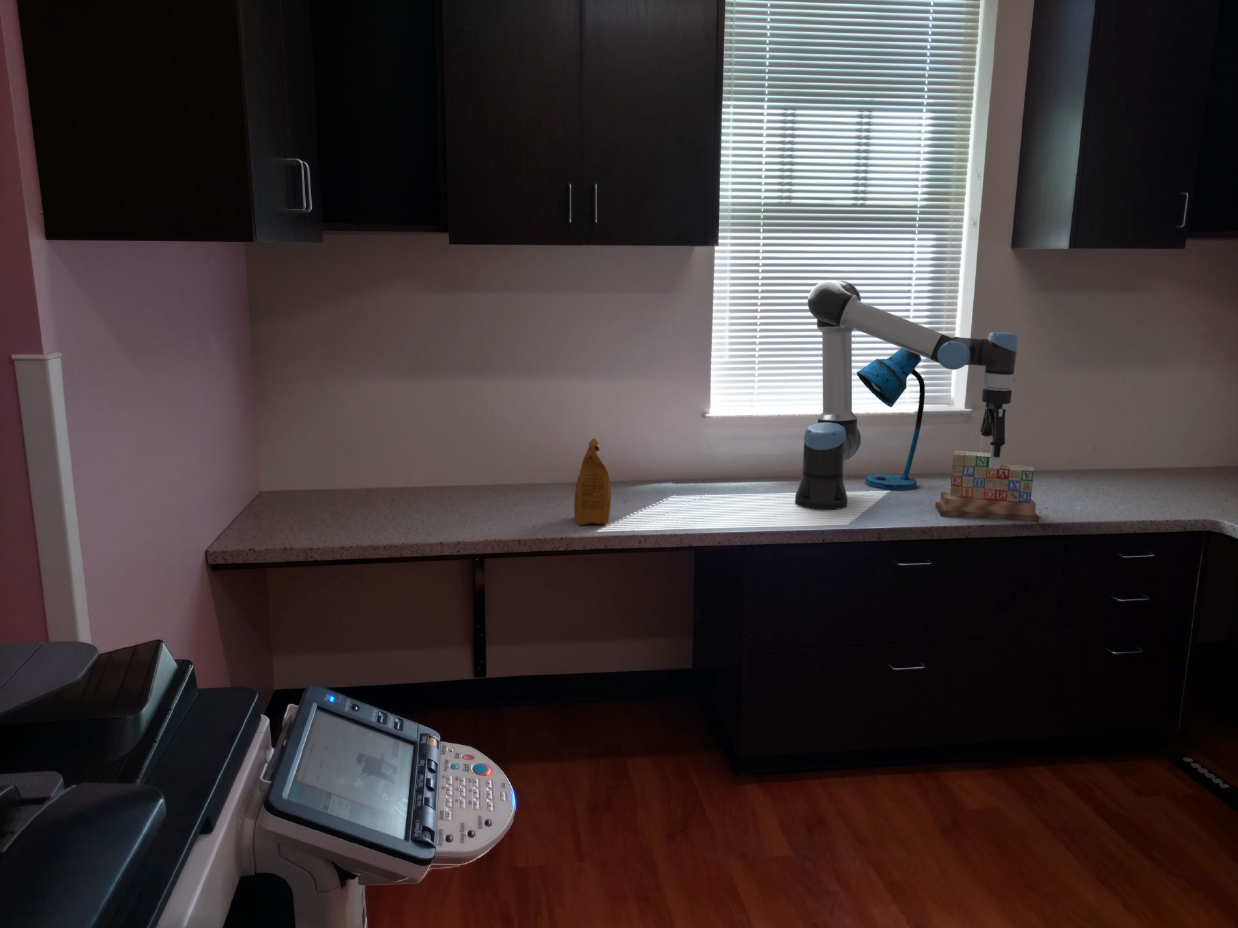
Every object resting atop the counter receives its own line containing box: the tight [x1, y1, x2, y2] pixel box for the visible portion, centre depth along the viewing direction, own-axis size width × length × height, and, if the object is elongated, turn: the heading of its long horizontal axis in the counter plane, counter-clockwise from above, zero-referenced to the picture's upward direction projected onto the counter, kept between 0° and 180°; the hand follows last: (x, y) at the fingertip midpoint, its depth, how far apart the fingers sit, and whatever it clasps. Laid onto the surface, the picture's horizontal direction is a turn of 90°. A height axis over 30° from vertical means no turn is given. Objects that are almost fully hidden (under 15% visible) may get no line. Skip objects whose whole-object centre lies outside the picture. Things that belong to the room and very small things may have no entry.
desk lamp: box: [856, 347, 926, 491], centre depth 297 cm, size 16×22×45 cm
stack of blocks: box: [949, 450, 1035, 503], centre depth 264 cm, size 21×6×12 cm, turn 67°
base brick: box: [934, 490, 1040, 523], centre depth 266 cm, size 26×11×5 cm, turn 80°
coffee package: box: [573, 437, 612, 526], centre depth 252 cm, size 10×12×22 cm
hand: (989, 463), depth 263 cm, fingers open, 13 cm apart
